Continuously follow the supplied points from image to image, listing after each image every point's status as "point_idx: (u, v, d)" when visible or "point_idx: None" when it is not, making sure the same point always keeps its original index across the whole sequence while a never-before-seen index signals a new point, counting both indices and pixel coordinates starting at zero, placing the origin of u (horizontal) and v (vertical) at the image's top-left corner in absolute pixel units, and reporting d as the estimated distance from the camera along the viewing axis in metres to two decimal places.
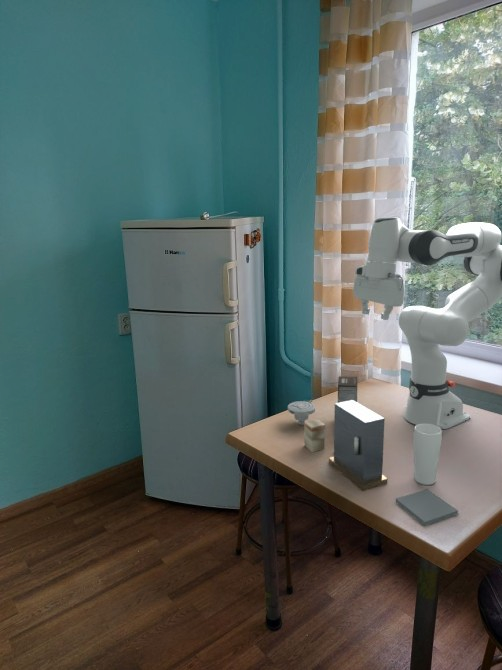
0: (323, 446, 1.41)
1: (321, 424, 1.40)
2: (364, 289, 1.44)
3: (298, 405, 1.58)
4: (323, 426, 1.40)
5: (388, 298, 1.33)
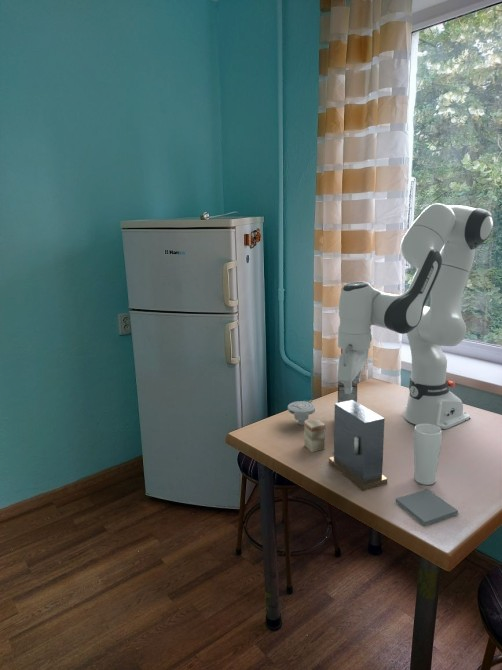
0: (323, 446, 1.41)
1: (321, 424, 1.40)
2: None
3: (298, 405, 1.58)
4: (323, 426, 1.40)
5: None
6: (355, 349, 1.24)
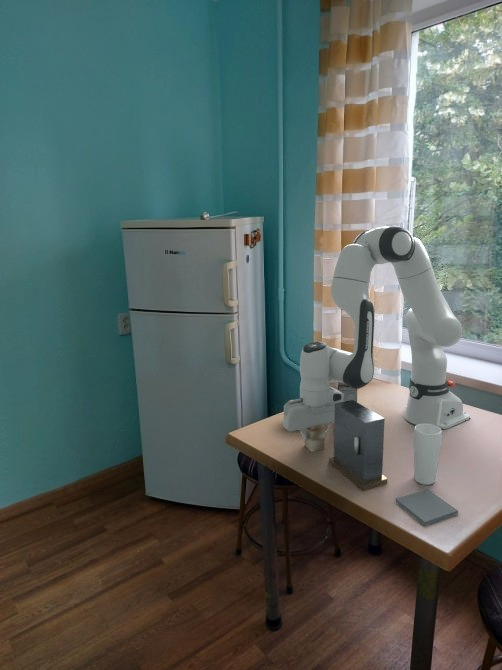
0: (323, 446, 1.41)
1: (321, 424, 1.40)
2: None
3: None
4: (323, 426, 1.40)
5: None
6: (304, 403, 1.36)
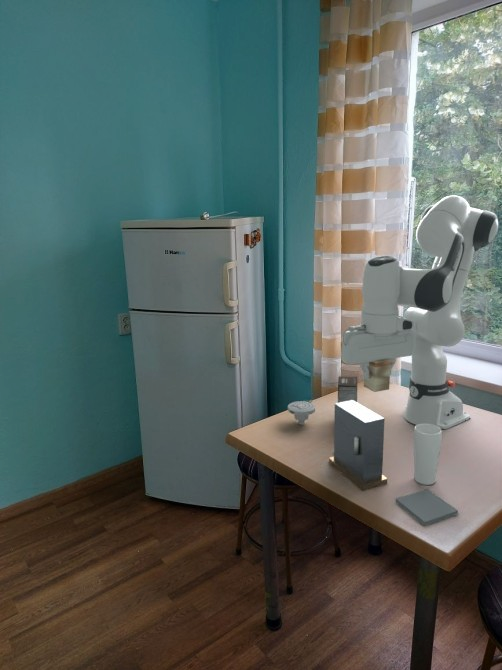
0: (388, 386, 1.16)
1: None
2: None
3: (298, 405, 1.58)
4: (389, 361, 1.15)
5: None
6: (368, 331, 1.11)
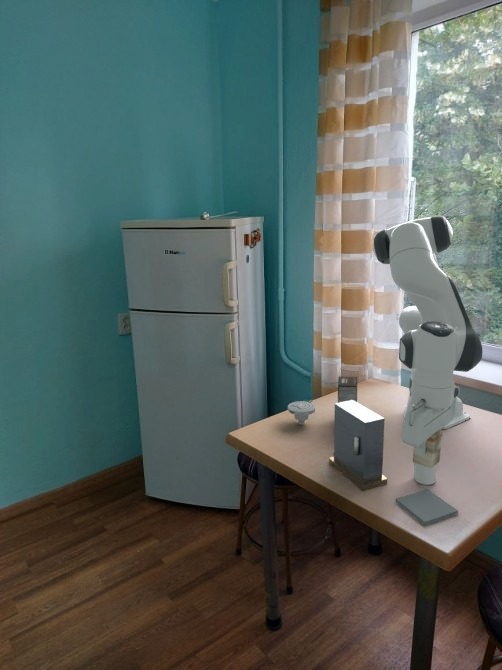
0: (439, 458, 1.08)
1: None
2: None
3: (298, 405, 1.58)
4: (441, 432, 1.06)
5: None
6: (429, 406, 1.01)
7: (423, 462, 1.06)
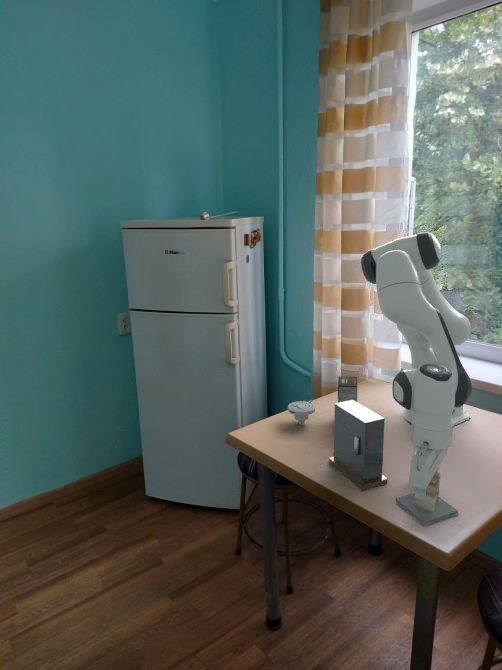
0: (437, 500, 1.11)
1: (436, 473, 1.10)
2: None
3: (298, 405, 1.58)
4: (439, 475, 1.10)
5: None
6: (432, 448, 1.03)
7: (425, 506, 1.09)
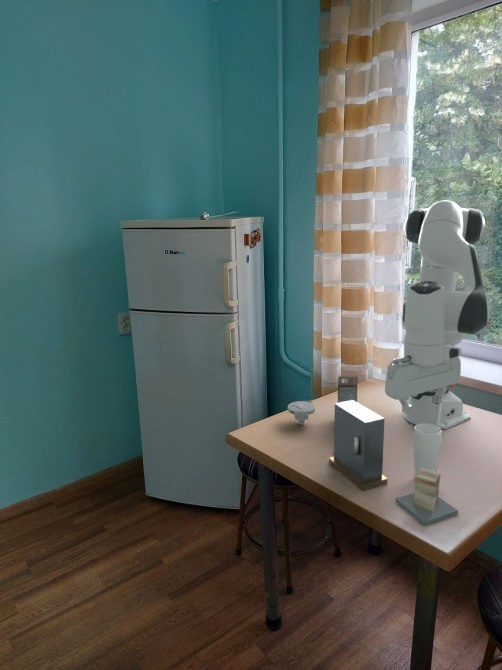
0: (437, 500, 1.11)
1: (436, 473, 1.10)
2: None
3: (298, 405, 1.58)
4: (439, 475, 1.10)
5: None
6: (414, 362, 1.04)
7: (425, 506, 1.09)
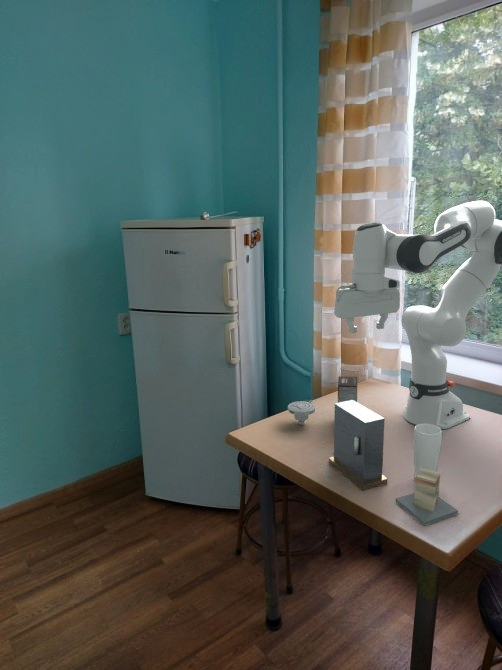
0: (437, 500, 1.11)
1: (436, 473, 1.10)
2: None
3: (298, 405, 1.58)
4: (439, 475, 1.10)
5: None
6: (358, 288, 1.27)
7: (425, 506, 1.09)
